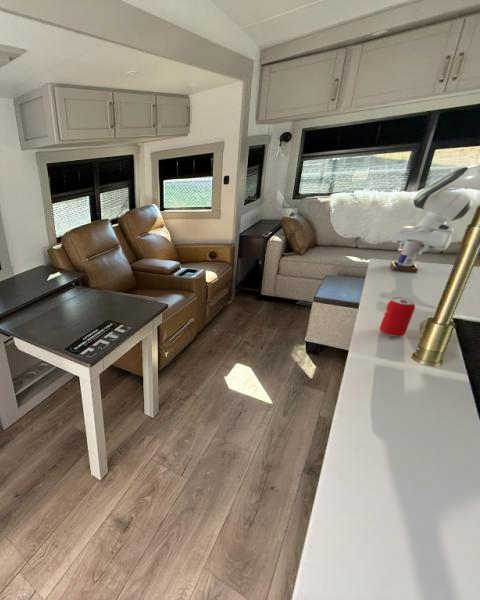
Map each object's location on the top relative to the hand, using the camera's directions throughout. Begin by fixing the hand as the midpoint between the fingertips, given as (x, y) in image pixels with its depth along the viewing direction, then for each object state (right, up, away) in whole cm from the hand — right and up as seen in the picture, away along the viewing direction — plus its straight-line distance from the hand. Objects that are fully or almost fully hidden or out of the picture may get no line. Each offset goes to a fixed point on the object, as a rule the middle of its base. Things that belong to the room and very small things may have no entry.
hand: (408, 252), depth 149 cm
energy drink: (+1, -6, +3) cm, 7 cm away
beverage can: (-52, -34, -44) cm, 76 cm away
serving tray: (+1, -7, +4) cm, 8 cm away
